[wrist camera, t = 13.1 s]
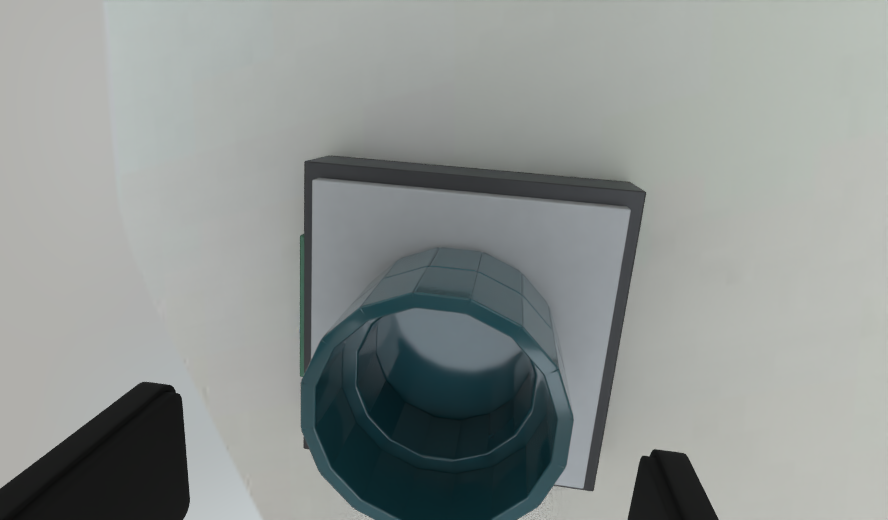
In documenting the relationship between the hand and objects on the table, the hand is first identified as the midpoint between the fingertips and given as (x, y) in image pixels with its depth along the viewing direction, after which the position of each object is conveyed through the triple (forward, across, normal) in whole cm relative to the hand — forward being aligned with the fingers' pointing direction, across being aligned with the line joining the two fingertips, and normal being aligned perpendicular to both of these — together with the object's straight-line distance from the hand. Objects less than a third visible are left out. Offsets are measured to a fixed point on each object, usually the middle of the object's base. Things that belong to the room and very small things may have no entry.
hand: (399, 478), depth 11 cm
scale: (+11, 0, +1) cm, 11 cm away
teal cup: (+8, 0, 0) cm, 8 cm away
